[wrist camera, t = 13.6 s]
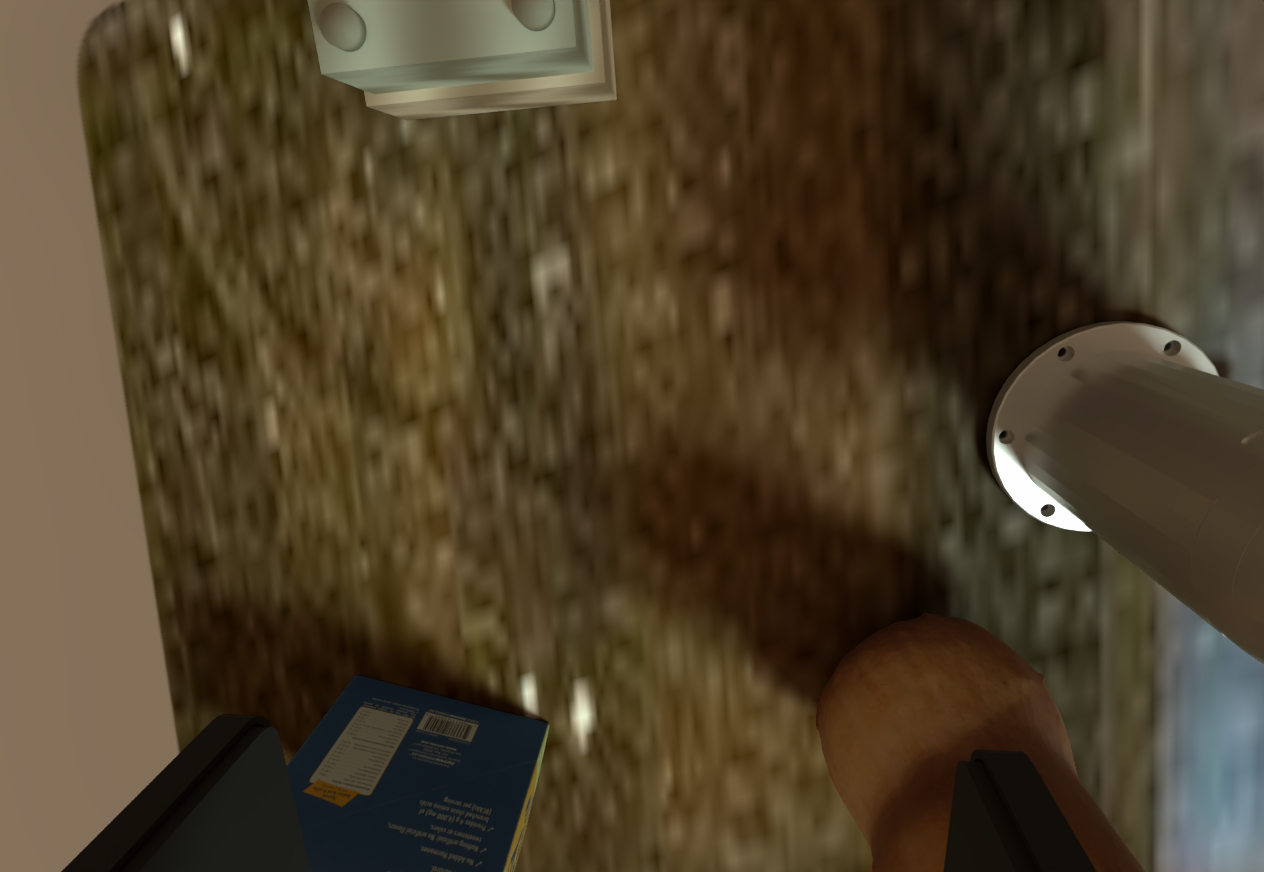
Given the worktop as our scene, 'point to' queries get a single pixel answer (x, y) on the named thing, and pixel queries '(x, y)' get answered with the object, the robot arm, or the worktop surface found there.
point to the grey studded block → (467, 53)
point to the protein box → (415, 783)
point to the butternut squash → (943, 738)
